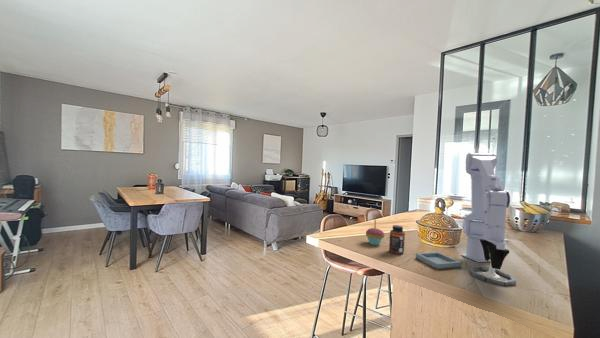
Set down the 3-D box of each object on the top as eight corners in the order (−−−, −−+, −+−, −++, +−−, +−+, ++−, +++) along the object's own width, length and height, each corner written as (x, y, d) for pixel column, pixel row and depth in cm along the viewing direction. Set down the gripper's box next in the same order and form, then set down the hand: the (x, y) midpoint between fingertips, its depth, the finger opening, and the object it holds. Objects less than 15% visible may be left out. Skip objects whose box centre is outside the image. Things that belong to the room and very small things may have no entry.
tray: (437, 256, 103) (437, 251, 103) (461, 267, 92) (461, 262, 92) (415, 258, 100) (416, 253, 100) (437, 269, 90) (437, 264, 89)
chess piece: (501, 281, 82) (503, 252, 82) (483, 277, 84) (485, 248, 84) (499, 276, 86) (501, 248, 86) (481, 272, 89) (483, 245, 88)
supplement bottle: (405, 255, 103) (406, 228, 103) (390, 253, 104) (391, 227, 104) (402, 250, 109) (403, 225, 108) (388, 249, 110) (389, 223, 110)
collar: (487, 268, 93) (487, 265, 93) (523, 283, 81) (523, 280, 81) (462, 270, 89) (462, 267, 89) (496, 287, 78) (496, 283, 78)
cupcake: (364, 240, 122) (365, 215, 122) (382, 241, 121) (383, 217, 121) (366, 245, 113) (367, 219, 113) (385, 247, 112) (387, 221, 112)
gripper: (518, 231, 77) (515, 275, 77) (501, 222, 90) (499, 259, 90) (490, 228, 79) (487, 270, 80) (478, 220, 93) (476, 256, 93)
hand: (492, 264), depth 85 cm, fingers open, 7 cm apart
